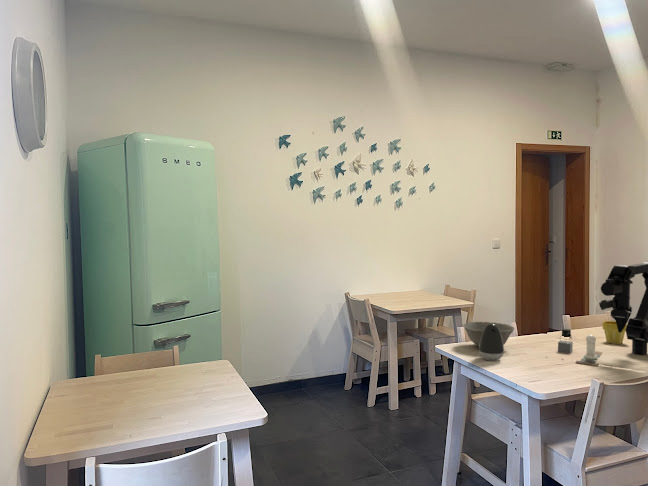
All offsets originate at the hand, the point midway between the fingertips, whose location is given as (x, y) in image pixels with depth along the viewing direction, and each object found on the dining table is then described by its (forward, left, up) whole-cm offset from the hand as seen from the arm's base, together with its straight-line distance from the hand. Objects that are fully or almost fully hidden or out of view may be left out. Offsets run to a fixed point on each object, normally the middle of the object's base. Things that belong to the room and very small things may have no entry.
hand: (621, 330), depth 215 cm
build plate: (-30, -27, -13) cm, 42 cm away
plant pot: (-32, -6, -12) cm, 35 cm away
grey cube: (+5, -21, -12) cm, 25 cm away
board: (+8, -10, -12) cm, 17 cm away
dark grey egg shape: (+36, -44, -12) cm, 58 cm away
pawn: (+11, -10, -11) cm, 19 cm away
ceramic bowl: (+16, -52, -12) cm, 56 cm away
